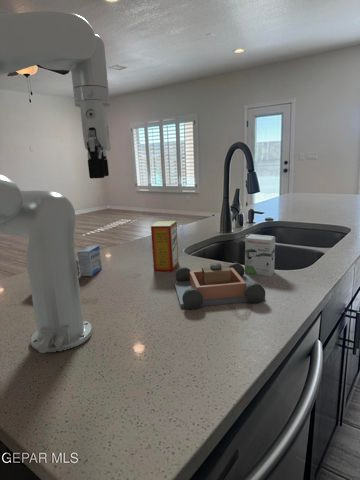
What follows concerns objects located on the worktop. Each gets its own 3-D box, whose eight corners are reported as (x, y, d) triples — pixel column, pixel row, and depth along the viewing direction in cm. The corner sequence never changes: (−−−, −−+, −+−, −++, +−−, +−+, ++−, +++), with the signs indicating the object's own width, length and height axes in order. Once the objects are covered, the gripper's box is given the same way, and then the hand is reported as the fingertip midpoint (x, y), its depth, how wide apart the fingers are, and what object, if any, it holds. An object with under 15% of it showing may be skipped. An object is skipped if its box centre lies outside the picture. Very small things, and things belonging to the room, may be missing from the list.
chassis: (267, 302, 85) (267, 283, 84) (181, 310, 83) (180, 291, 82) (244, 277, 103) (244, 261, 102) (174, 283, 101) (173, 267, 100)
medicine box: (92, 276, 111) (89, 251, 109) (80, 276, 112) (76, 251, 110) (102, 269, 119) (99, 245, 117) (90, 268, 120) (87, 245, 118)
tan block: (230, 291, 91) (230, 266, 89) (205, 293, 90) (204, 268, 88) (226, 284, 96) (226, 261, 94) (202, 286, 95) (201, 263, 93)
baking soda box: (161, 263, 122) (158, 219, 118) (178, 263, 121) (176, 219, 117) (153, 271, 113) (150, 225, 109) (172, 271, 112) (170, 225, 108)
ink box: (244, 273, 107) (243, 237, 105) (249, 268, 112) (249, 233, 109) (271, 276, 103) (271, 239, 100) (275, 271, 107) (275, 235, 105)
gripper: (105, 89, 66) (113, 178, 70) (112, 104, 82) (118, 174, 86) (65, 90, 65) (76, 180, 69) (81, 105, 82) (89, 176, 86)
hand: (99, 177), depth 78 cm, fingers open, 9 cm apart
